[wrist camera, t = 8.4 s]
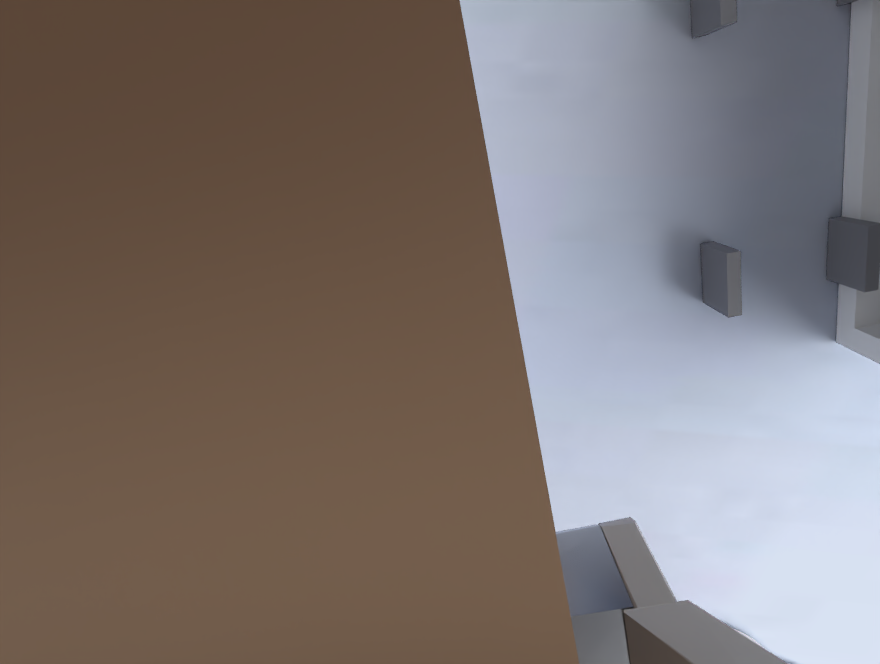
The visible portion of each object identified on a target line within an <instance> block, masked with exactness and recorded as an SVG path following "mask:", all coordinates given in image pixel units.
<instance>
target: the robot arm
mask: <svg viewBox="0 0 880 664" xmlns="http://www.w3.org/2000/svg"><path fill="white" fill-rule="evenodd" d="M555 533H556V538H557V544H558V549H559V555H560V560H561V566H562V571H563V577H564V582H565V588H566V594H567V599H568V605H569V610H570V616H571V621H572V627H573V632H574V638H575V643H576V649H577V654H578V660H579V664H789V663H786V662H785V661H783V660H781V659H780V658H778V657H777V656H775V655H774V654H772V653H770V652H769V651H767V650H766V649H765V648H763V647H762V646H761V645H760V644H759V643H758V642H757V641H755V640H754V639H752V638H751V637H750V636H748V635H746V634H744V633H742V632H740V631H738V630H736V629H733V628H731V627H730V626H728V625H727V624H725V623H723V622H722V621H720V620H719V619H717V618H716V617H714V616H712V615H711V614H709V613H708V612H706V611H705V610H703V609H701V608H700V607H698V606H697V605H695V604H694V603H692V602H690V601H689V600H685V601H678V602H677V600H676V598H675V596H674V594H673V593H672V591H671V589H670V587H669V585H668V583H667V581H666V579H665V577H664V575H663V573H662V571H661V569H660V568H659V566H658V564H657V562H656V560H655V558H654V556H653V554H652V552H651V550H650V548H649V546H648V544H647V543H646V541H645V539H644V537H643V535H642V533H641V531H640V529H639V527H638V525H637V523H636V521H635V520H633V519H632V518H631V517H629V518H624V519H619V520H614V521H609V522H603V523H599V524H598V525H591V526H586V527H580V528H575V529H569V530H563V531H558V532H555Z"/></svg>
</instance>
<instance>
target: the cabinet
mask: <svg viewBox="0 0 880 664" xmlns="http://www.w3.org/2000/svg"><path fill="white" fill-rule="evenodd" d="M848 3H851V24H850V46H849V68H848V90H847V112H846V134H845V156H844V178H843V201H842V216H841V217H836V218H831V219H829V225H828V252H827V280H830V281H833V282H836V283H839V289H838V311H837V333H836V342H837V343H839V344H841V345H843V346H845V347H847V348H849V349H851V350H853V351H855V352H857V353H859V354H861V355H863V356H865V357H867V358H869V359H871V360H873V361H875V362H877V363H879V364H880V0H837V6H839V5H844V4H848ZM736 22H737V2H736V0H691V24H692V38H695V37H700V36H704V35H708V34H710V33H712V32H715V31H717V30H719V29H722V28H724V27H726V26H729V25H731V24H733V23H736ZM701 265H702V289H703V303H705V304H707V305H708V306H710V307H712V308H713V309H715V310H717V311H718V312H720V313H722V314H723V315H725V316H727V317H728V318H729V317H734V316H739V315H742V301H741V251H739V250H737V249H734V248H731V247H728V246H725V245H722V244H719V243H716V242H714V241H713V242H707V243H702V244H701Z"/></svg>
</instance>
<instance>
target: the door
mask: <svg viewBox="0 0 880 664" xmlns="http://www.w3.org/2000/svg"><path fill="white" fill-rule="evenodd" d="M0 664H579V660H578V654H577V649H576V643H575V638H574V632H573V627H572V621H571V616H570V610H569V605H568V599H567V594H566V588H565V582H564V577H563V571H562V566H561V560H560V555H559V549H558V544H557V538H556V533H555V527H554V522H553V516H552V511H551V505H550V499H549V494H548V488H547V483H546V477H545V472H544V466H543V461H542V455H541V450H540V444H539V439H538V433H537V427H536V422H535V416H534V411H533V405H532V400H531V394H530V389H529V383H528V378H527V372H526V367H525V361H524V356H523V350H522V344H521V339H520V333H519V328H518V322H517V317H516V311H515V306H514V300H513V295H512V289H511V284H510V278H509V273H508V267H507V261H506V256H505V250H504V245H503V239H502V234H501V228H500V223H499V217H498V212H497V206H496V201H495V195H494V189H493V184H492V178H491V173H490V167H489V162H488V156H487V151H486V145H485V140H484V134H483V129H482V123H481V118H480V112H479V106H478V101H477V95H476V90H475V84H474V79H473V73H472V68H471V62H470V57H469V51H468V46H467V40H466V35H465V29H464V23H463V18H462V12H461V7H460V1H459V0H0Z"/></svg>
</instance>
